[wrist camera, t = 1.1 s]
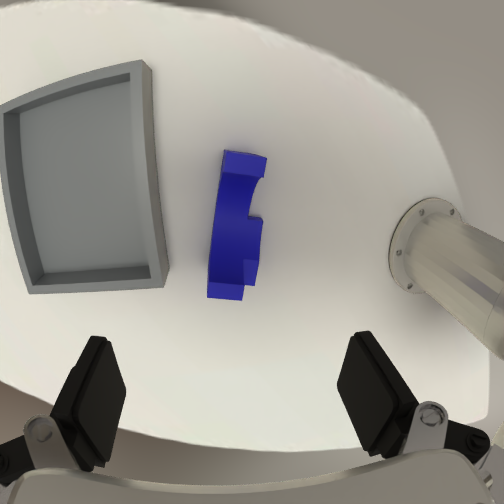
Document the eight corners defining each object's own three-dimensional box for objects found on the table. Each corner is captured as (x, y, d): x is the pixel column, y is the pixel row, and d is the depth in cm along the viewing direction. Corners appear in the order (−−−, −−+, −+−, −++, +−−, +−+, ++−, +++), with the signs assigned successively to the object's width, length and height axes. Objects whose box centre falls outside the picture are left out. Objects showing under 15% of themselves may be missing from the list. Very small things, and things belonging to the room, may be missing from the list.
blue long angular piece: (250, 272, 31) (258, 302, 25) (208, 268, 30) (207, 297, 24) (271, 157, 27) (286, 161, 21) (224, 149, 26) (226, 151, 20)
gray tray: (151, 70, 22) (141, 59, 18) (169, 269, 29) (163, 287, 26) (18, 107, 20) (-3, 106, 17) (44, 277, 28) (29, 294, 24)
